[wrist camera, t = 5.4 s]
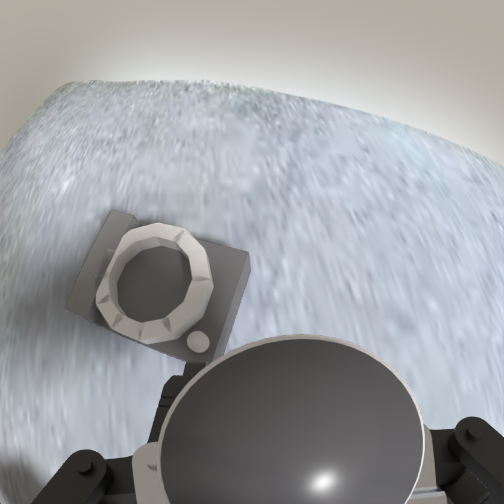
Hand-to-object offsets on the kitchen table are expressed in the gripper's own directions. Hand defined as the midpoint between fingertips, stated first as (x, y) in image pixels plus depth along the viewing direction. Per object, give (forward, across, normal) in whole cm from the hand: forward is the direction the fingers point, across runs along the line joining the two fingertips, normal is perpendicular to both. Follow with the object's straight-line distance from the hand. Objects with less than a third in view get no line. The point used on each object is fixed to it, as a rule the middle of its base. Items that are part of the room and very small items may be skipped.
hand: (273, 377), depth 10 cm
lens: (+2, 0, +4) cm, 5 cm away
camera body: (+14, +8, +4) cm, 17 cm away
